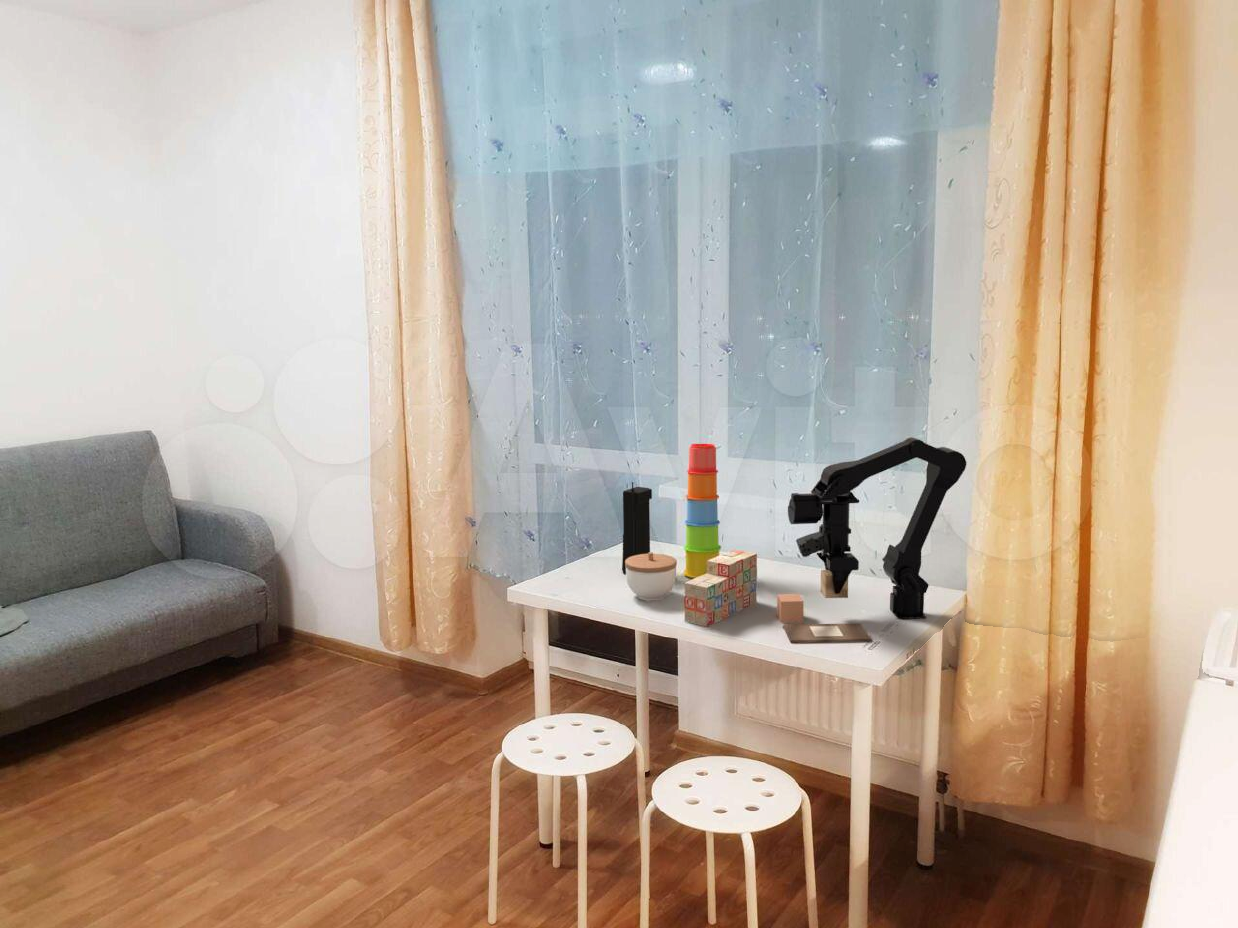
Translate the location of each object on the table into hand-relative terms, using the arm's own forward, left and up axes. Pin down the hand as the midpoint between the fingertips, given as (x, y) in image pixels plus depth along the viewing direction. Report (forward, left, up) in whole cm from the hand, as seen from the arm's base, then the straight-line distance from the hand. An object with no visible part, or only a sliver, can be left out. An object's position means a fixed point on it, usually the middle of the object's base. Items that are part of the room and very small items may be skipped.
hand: (834, 589), depth 206 cm
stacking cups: (+27, -35, -7) cm, 44 cm away
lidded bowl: (+41, -18, -7) cm, 45 cm away
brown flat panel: (+4, +10, -7) cm, 13 cm away
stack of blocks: (+25, -6, -7) cm, 26 cm away
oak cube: (0, 0, -1) cm, 1 cm away
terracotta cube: (+10, 0, -7) cm, 12 cm away
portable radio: (+44, -39, -7) cm, 59 cm away
